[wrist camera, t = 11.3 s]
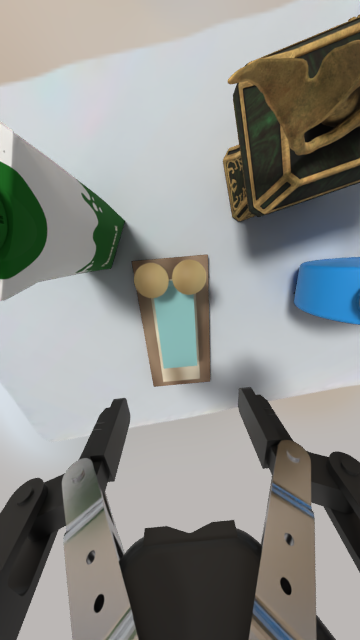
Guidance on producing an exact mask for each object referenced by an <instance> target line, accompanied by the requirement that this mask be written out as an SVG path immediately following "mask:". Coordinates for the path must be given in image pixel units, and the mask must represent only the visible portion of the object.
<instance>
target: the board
mask: <svg viewBox="0 0 360 640" xmlns="http://www.w3.org/2000/svg"><path fill="white" fill-rule="evenodd" d="M132 267H133V272H134V284H135V287H136V289H137V295H138V301H139V306H140V312H141V317H142V323H143V329H144V334H145V340H146V346H147V351H148V357H149V363H150V368H151V374H152V380H153V385H154V387H156V386H166V385H177V384H188V383H198V382H209V381H210V343H209V293H208V255H197V256H185V257H174V258H163V259H151V260H140V261H132ZM169 281H173V284H174V286H175V288H176V289H177V290H178V291H179V292H180V293H182V294H186V295H192V294H194V311H195V331H196V350H197V366H188V367H177V368H166V369H164V367H163V360H162V352H161V345H160V338H159V331H158V324H157V317H156V310H155V303H154V298H157V297H159V296H161V295H163V294H164V293H165V291H166V290H167V288H168V283H169Z"/></svg>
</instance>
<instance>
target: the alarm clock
mask: <svg viewBox="0 0 360 640" xmlns="http://www.w3.org/2000/svg"><path fill="white" fill-rule="evenodd" d="M294 294H295V298H294V304H295V305H296V306H297V307H298V308H299V309H301V310H302V311H304V312H307V313H309V314H312V315H315V316H318V317H322V318H325V319H330V320H334V321H339V322H345V323H351V324H358V325H360V257H351V258H335V259H323V260H315V261H309V262H304V263H302V264H301V265H300V268H299V274H298V280H297V286H296V292H294Z"/></svg>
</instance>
